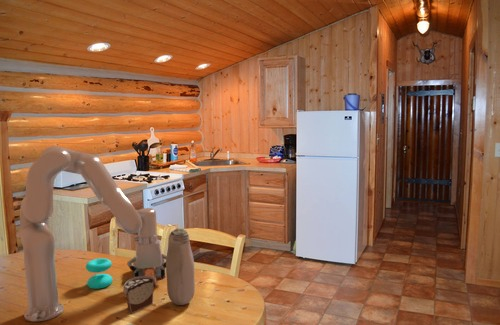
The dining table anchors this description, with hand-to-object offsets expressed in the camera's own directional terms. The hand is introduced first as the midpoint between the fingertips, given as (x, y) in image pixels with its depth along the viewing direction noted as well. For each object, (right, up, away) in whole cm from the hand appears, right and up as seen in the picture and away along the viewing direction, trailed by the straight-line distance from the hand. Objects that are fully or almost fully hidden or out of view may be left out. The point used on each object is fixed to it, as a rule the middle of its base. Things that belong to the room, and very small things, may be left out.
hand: (150, 279), depth 169 cm
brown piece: (-1, -5, -17) cm, 18 cm away
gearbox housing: (-3, -1, +13) cm, 13 cm away
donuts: (-21, -3, +2) cm, 21 cm away
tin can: (0, -3, 0) cm, 3 cm away
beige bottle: (+15, -5, -15) cm, 22 cm away
